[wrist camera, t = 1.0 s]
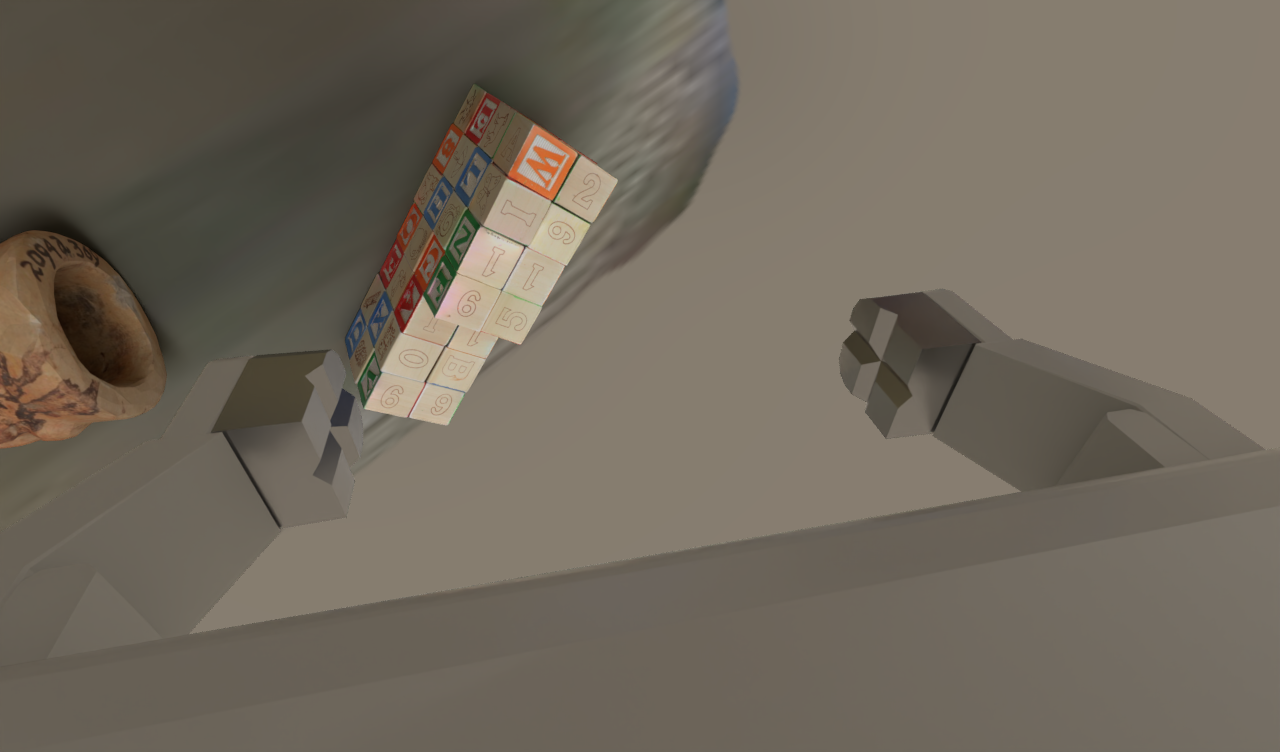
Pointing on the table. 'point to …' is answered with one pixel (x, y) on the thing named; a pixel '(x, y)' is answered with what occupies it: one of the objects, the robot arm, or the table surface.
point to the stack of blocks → (471, 259)
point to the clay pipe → (69, 342)
